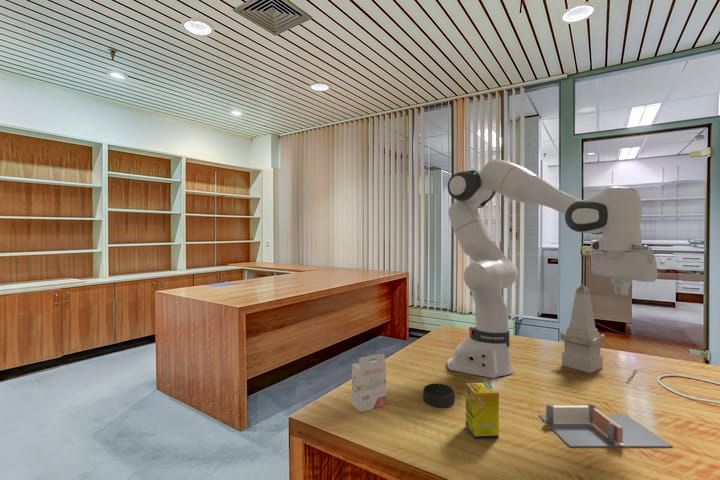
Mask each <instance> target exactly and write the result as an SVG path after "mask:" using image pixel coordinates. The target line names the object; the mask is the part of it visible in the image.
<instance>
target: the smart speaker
mask: <svg viewBox="0 0 720 480" xmlns="http://www.w3.org/2000/svg"><path fill="white" fill-rule="evenodd" d="M422 400H423V401H424V403H425V404H427V405H428V406H429V407H432V408H437V409H446V408H447V409H448V408H450V407H452V406H453V405H454V404H455V402H456V393H455V390H454V389H453V388H452V387H451V386H449V385H448V384H444V383H429V384H426V385H425V386H424V387H423V389H422Z"/></svg>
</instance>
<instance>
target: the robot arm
mask: <svg viewBox="0 0 720 480" xmlns="http://www.w3.org/2000/svg"><path fill="white" fill-rule="evenodd" d="M446 187H447V193H448V194H449V195H450V197H451V198H453V199H454V200H456V201H455V202H453V203H452V204H451V205H450V207H449V208H448V212H447V213H448V217H449V220H450V225H451V227H452V229H453V233H454V234H455V236H456V238H457V239H456V240H458V244H459V245H460V247H461V250H462V252H463V253H464V254H465V255H467V256H468V257H469V258H470V259H471V260H472V263H471V264H469V265H468V266H467V267H466V268H465V269H464V271H463V280H464V283H465V285H466V286H467V288H468V289H469V290H470V292H471V295H472V298H473V303H474V312H475V315H474V319H475V321H474V322H475V326H473V325H471V326H469V328H468V331H469V337H468V338H467V339H465V340H463V341H462V342H461V343H459V344H458V345H457V346H456V347H455V349H454V352H453V356H451V357H449V358H448V360H447V363H446V367H447V368H448V369H449V370H450V371H454V372H458V373H465V374H470V375H474V376H479V377H484V378H491V379H496V378H498V377H501V376H502V377H503V376H509V375H511V374H513V373H514V369H513V365H512V360H511V356H510V345H511V334H510V330H509V307H508V306H507V305H506V304H505V301H504V298H503V294H502V290H503V289H507V288H509V287H510V286H512V285H513V284H515V282H516V281H517V279H518V277H519V270H518V267H517V266H516V264H515V263H513V261H510V259H509V258H508V257H506V255H505V253H503V251H502V250H501V249H500V248H499V246H498V245H497V244H496V242H495V241H494V239H493V238H492V236H491V234H490V232H489V231H488V230H489V229H488V228H487V226H486V224H485V223H484V220H483V218H482V216H481V214H480V212H479V209H481V208H482V209H483V208H484V207H485V206H486V205H487V204H488V203H489V202H490V201H491V200H492V199H493V198H494V196H496V193H498V194H500V195H501V196H503V197H505V198H507V199H510V200H513V201H516V202H518V203H519V202H520V203H524V204H531V205H539V206H544V207H547V208H550V209H552V210H554V211H557V212H559V213H561V214H563V215H564V221H565V224H566V225H567V227H568V228H569V229H571V230H572V231H574V232H577V233H580V234H590V235H591V234H592V235H596V236H597V235H602V238H599V239H598V240H595V241H593V242H590V250H591V251H592V252H591V255H590V269H591V272H592V274H593V275H597V276H603V277H610V281H611V284H612V286H613V288H614V289H613V290H614V293H615V295H616V294H617V295H619V296H629V289H630V287H631V286H632V284H633V281H638V282H643V283H644V282H645V283H646V282H647V283H649V282H651V283H652V282H653V283H654V282H655V281H657V279H658V275H659V274H658V265H657V258H656V256H655V252H654V249H652V248H651V247H650V246H649V245H647V244H645V245H642V240H643V239H642V229H641V221H642V218H643V217H642V215H643V214H642V212H643V211H642V199H641V196H640V192H639V191H638V190H636V189H635V188H632V187H626V186H618V185H617V186H616V185H615V186H612V185H611V186H608V187H605V189H603V190H602V191H600V192H599V193H596V194H594V195H592V196H590V197H588V198H585V199H581V198H578V197H577V196H573V195H572V194H569V193H567V192H564V191H562V190H561V189H559V188H556V187H555V186H553V185H551V184H550V183H548V182H547V181H546V180H544V179H542V177H540V176H538V175H537V174H535V173H534V172H532V171H531V170H529V169H527V168H525V167H523V166H521V165H519V164H516V163H513V162H511V161H507V160H503V159H498V158H495V159H491V160H489V161H488V162H487V163H485V165H484V166H483V168H482V170H480V171H477V170H475V169H471V170H463V171H458V172H456V173H454V174H452V175H451V177H450V178H449V180H448V181H447V186H446Z"/></svg>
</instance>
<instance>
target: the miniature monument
mask: <svg viewBox="0 0 720 480" xmlns="http://www.w3.org/2000/svg"><path fill="white" fill-rule="evenodd" d="M573 298H574V300H573V303H572V304H573V305H572V310H571V315H570V322H569V327H567V328H566V331H565V332H564V333H563V332H561V331H560V334H559V335H560V336H559V337H560V338H559V339H560V340H562V341H564V351H563V352H562V354H561V365H562V366H563V367H567V368H571V369H574V370H578V371H581V372H585V373H588V374H592V373H594V372H596V371H599V370H601V369H603V368H604V367H603V365H604V364H603V363H604V362H603V361H604V356H603V354H602V353H601V343H604V342H605V341H606V335H605V334H604V333H601V334H600V332H599V330H598V328H596V323H595V321H596V320H595V317H594V311H593V304H592V298H591V294H590V289H589V288H588V287H586V286H585V284H581V285H580V286H579V287H578V288H576V289H575V294H574V297H573Z"/></svg>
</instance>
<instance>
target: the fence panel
mask: <svg viewBox="0 0 720 480" xmlns="http://www.w3.org/2000/svg"><path fill="white" fill-rule="evenodd" d="M606 415H607V414H605V413H603V412H602V411H601V410H599V409H598V408H595V409H593V423H594V424H595V425H596V426H598V427H599V428H600V429H601V430H602V431H604V432H605V433H606V434H607V435H608V422H611V423H614V440H615V441H616V442H617V443H623V427H621V426H620V425H619V424H617V423H616V422H614V421H613V420H612V419H610V418H609V417H608V416H606Z"/></svg>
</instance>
